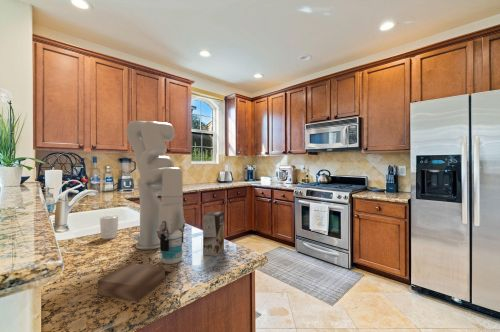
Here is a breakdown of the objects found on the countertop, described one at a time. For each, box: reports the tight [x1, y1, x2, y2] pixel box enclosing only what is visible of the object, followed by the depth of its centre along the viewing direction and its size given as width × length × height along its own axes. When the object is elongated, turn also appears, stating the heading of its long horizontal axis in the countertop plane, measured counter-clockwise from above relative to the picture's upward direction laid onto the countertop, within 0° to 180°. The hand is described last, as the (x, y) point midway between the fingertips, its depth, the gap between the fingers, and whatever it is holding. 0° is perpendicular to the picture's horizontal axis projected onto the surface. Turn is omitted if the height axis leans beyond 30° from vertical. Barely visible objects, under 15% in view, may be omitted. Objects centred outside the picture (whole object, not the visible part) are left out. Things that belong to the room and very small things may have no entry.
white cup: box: [99, 214, 119, 240], centre depth 118 cm, size 8×8×10 cm
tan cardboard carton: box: [97, 262, 175, 302], centre depth 74 cm, size 13×20×5 cm, turn 166°
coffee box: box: [202, 210, 225, 257], centre depth 99 cm, size 9×6×16 cm
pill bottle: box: [160, 230, 183, 265], centre depth 90 cm, size 8×7×14 cm
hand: (172, 246), depth 89 cm, fingers open, 9 cm apart
